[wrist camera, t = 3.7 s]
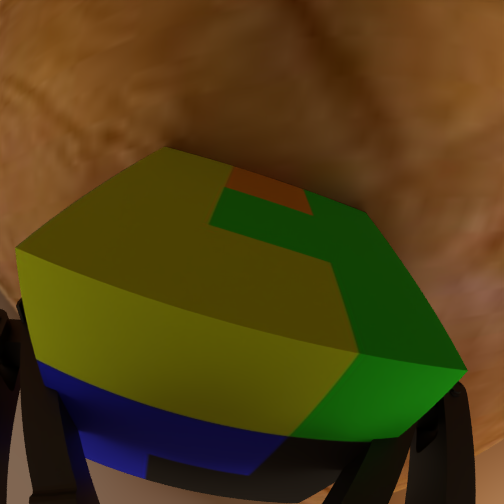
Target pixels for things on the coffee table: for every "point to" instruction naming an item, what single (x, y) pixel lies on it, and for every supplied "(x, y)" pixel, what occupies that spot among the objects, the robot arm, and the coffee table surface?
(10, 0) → the coffee table surface
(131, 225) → the puzzle toy
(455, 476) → the robot arm
